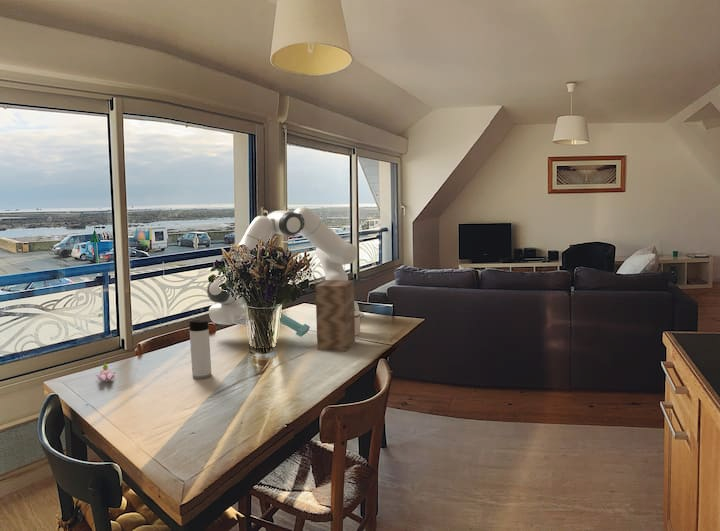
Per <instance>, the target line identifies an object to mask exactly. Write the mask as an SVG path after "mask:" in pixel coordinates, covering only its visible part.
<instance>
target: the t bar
mask: <svg viewBox="0 0 720 531" xmlns="http://www.w3.org/2000/svg"><path fill="white" fill-rule="evenodd" d="M280 313H281V318H280V322H279V323H281V324H283V325H284V326H286V327H288V328H289V329H291V330H292V331H295V332H296V333H295V335H297V336H299V337H300V338H301V337H303V336H304V335H305V334H307V333H308V332H309V330H310V328H311V326H309V324H307V323H304V324H301V323H299V322H298V321H296V320H294V319H293V318H291V317H289V316H287V315H285V314H284V313H282V312H280Z"/></svg>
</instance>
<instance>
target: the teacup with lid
mask: <svg viewBox="0 0 720 531" xmlns="http://www.w3.org/2000/svg"><path fill="white" fill-rule="evenodd" d="M359 312H360V311H359ZM359 312H356V311H355V310H354V318H355V336H358V335H360V334H361V317H360V313H359Z"/></svg>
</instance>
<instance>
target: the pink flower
mask: <svg viewBox="0 0 720 531" xmlns="http://www.w3.org/2000/svg"><path fill="white" fill-rule="evenodd" d="M116 373H117V372H116V371H114V372H112V371H111V369H109V367H108V365H107V364H106V363H104V364H103V367H102V369H101V370H100V373H99V374H95V377H97V379H98V380H99V381H101V382H104V381H108V382H109V381H111V380H113V379H114V378H115V376H116V375H115V374H116Z"/></svg>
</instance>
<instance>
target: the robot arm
mask: <svg viewBox="0 0 720 531" xmlns="http://www.w3.org/2000/svg"><path fill="white" fill-rule="evenodd" d="M249 224H250V225H249V226H248V227H247V229H246V231H245V233H244V235H243V237H242V238H241V240H240V242H239V243H238V244H237V246H239V245H242V244H244V245H246V246H247V247H248V248H249V249H250V250H252V249H254V248H256V245H257V244H258V238H259V237H261V238H262V242H263V243H264V244H266V243H267V242H268V241H269V239H270V238H271V237H272V238H273V236H274V235H275V234H277V235H279V236H280V235H281V236H287V237H292V236H296V235H297V234H299V233H301V235H302V236H303V237H304V238H305V239H306V240H307V241H308V242H309V243H310V244H311V245H312V246H314V247H315V248H316V249H315V254H316V256H317V258H318V259H319V260H320V263H321V265H322V269H323V273H324V276H325V277H324V278H325V280H349V276H348V273H347V272H346V271H345V268H344V266H345V265H350V264H353V263H354V262H355V261H356V259H358V249H357V248H356V246H355V245H354V244H352V243H351V242H349V241H347V240H345V239H344V238H343V237H341V236H340V235H338V234H337V233H336V232H334V231H333V230H332V229H331V228H329V227H328V225H327V224H326V223H324V221H323V220H322V219H321V218H320V217H319V216H318V215H317V214H316V213H314V212H313V210H311V209H309V208H308V207H306V206H299V207H297V208H296V209H294V211H288V210H283V209H282V210H279V209H275V210H271V211H270V212H268V213H267V214H266V215H258V216H256V217H254V219H253V220H252V221H251V223H249ZM272 238H271V239H272ZM271 239H270V240H271ZM269 242H270V241H269ZM343 265H344V266H343ZM216 276H217V275H216ZM216 276H215V277H216ZM219 279H220V276H217V277H216V279H215V282H214V283H210V282H209V283H208V285H207V288H206V289H207V290H206V294H207V296H208V298H209V300H210V301H211V302H214V303H213V304H212V305H211V306H209V308H208V315H209V318H210V320H211V322H212V323H215V324H217V325H227V326H228V325H229V326H230V325H247V324H246V313H245V307H244V304H245V303H243V300H242V299H237V300H235V299H234V298H233V297H232V295H230V294H227V292H226V291H222V290H221V289H220V288H219V286H218V285H219V284H220V281H219ZM325 280H324V281H325ZM354 310H355V311H356V312H359V313H360V318H361V317H363V316H365V315H364V314H365V313H363V311H362V312H361V311H360V307H359V304H358V303H357V302H356V301H355V300H354Z"/></svg>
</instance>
